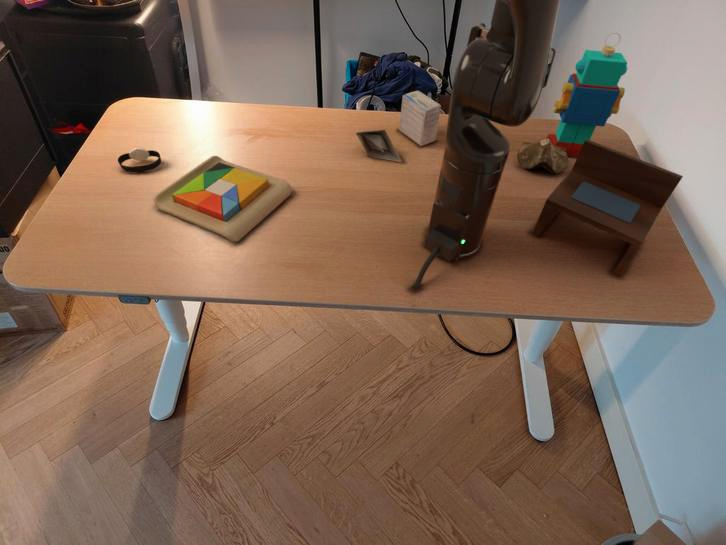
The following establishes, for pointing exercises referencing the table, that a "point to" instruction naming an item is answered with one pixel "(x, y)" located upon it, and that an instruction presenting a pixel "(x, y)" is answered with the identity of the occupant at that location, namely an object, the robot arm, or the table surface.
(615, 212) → the wooden toy chair
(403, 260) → the table surface
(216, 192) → the wooden puzzle
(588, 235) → the table surface
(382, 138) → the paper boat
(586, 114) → the toy robot
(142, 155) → the watch
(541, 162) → the fossilized seashell
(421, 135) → the medicine box
